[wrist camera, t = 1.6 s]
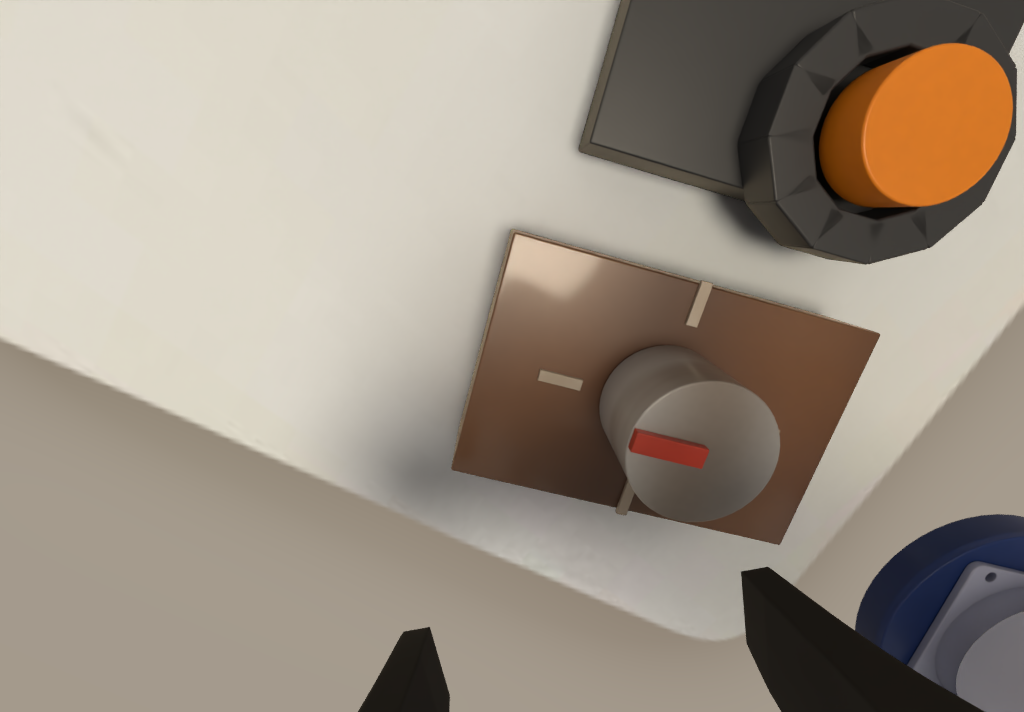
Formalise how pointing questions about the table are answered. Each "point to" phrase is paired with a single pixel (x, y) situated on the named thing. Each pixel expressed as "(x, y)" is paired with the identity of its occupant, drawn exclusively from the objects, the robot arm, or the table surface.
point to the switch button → (917, 128)
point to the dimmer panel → (616, 336)
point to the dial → (688, 434)
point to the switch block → (779, 105)
